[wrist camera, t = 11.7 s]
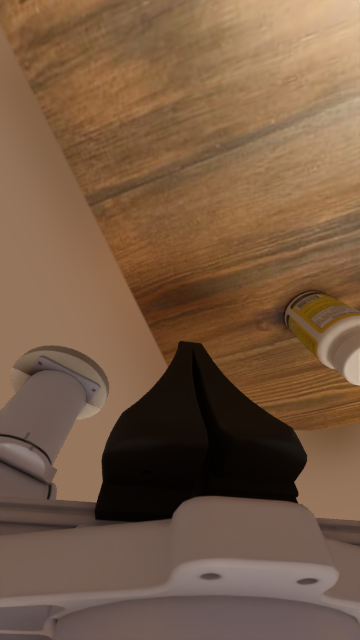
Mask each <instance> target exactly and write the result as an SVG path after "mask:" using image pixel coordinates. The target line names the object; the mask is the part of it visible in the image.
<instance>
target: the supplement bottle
mask: <svg viewBox="0 0 360 640" xmlns="http://www.w3.org/2000/svg"><path fill="white" fill-rule="evenodd" d="M285 323H286V326H287V327H288V328H289V329H290V331H291V332H292V333H293V334H294V335H295V336H296V337H297V338H298V339H299V340H300V341H301V342H302V343H303V344H304V345H305V346H306V347H307V348H308V349H309V350H310V351H311V352H312V353H313V354H314V355H315V356H316V357H317V358H318V359H319V360H320V361H321V362H322V363H323V364H324V365H326V366H327V367H329V368H332V369H336V370H337V371H338V372H339V373H340V374H341V375H342V376H343V377H344V378H345V379H346V380H348V381H349V382H350V383H352V384H355V385H359V386H360V312H359V311H357V310H355V309H354V308H352V307H350V306H348V305H346V304H344V303H342V302H340V301H338V300H336V299H335V298H333V297H331V296H329V295H327V294H325V293H322V292H317V291H313V292H307V293H304V294H301V295H299V296H298V297H296V298H295V299H294V300H293V301H292V302H291V303H290V304H289V306H288V307H287V309H286V312H285Z"/></svg>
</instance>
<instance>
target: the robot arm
mask: <svg viewBox="0 0 360 640" xmlns="http://www.w3.org/2000/svg"><path fill="white" fill-rule="evenodd" d="M41 362H42V363H41ZM99 388H100V385H99V384H98V383H96V382H94V381H92V380H90V379H88V378H86V377H85V376H83V375H81V374H79V373H77V372H75V371H73V370H71V369H69V368H67V367H65V366H63V365H61V364H59V363H57V362H55V361H54V360H52V359H50V358H48V357H46V356H40V357H39V358H38V359H37V361H36V363H35V364H34V366H33V368H32V370H31V371H30V373H29V375H28V376H27V378H26V380H25V382H24V383H23V385H22V387H21V389H20V390H19V391H18V392H17V393H16V394H15V395H14V396H13V397H12V398H11V400H10V401H9V402H8V403H7V404H6V405H5V406H4V407H3V408H2V409H1V410H0V640H360V521H354V520H339V519H325V518H315V516H314V514H313V513H311V511H310V510H309V509H308V508H307V507H305V506H303V505H301V504H298V502H297V500H296V497H298V490H297V488H296V486H295V483H294V481H295V480H296V479H297V477H298V476H299V474H300V473H301V472H302V470H303V469H304V467H305V465H306V462H307V454H306V452H305V451H304V449H303V446H302V444H301V442H300V441H299V439H298V437H297V435H296V433H295V432H294V430H293V428H292V427H290V426H288V425H287V424H285V423H283V422H282V421H280V420H279V419H277V418H275V417H274V416H272V415H271V414H269V413H268V412H266V411H265V410H263V409H262V408H261V407H259V406H258V405H256V404H255V403H254V402H252V401H251V400H250V399H249V398H248V397H246V396H245V395H244V394H243V393H242V392H241V391H239V390H238V389H237V388H236V387H235V386H234V385H233V384H232V383H231V382H230V381H229V380H228V379H227V378H226V377H225V375H224V374H223V373H222V372H221V371H220V369H219V368H218V367H217V366H216V364H215V363H214V362H213V360H212V359H211V357H210V356H209V354H208V353H207V351H206V350H205V348H204V347H203V345H202V344H201V343H193V342H184V341H180V342H179V343H178V349H177V352H176V354H175V356H174V358H173V360H172V362H171V364H170V365H169V367H168V369H167V370H166V372H165V373H164V374H163V376H162V377H161V378H160V379H159V381H158V382H157V383H156V384H155V385H154V387H153V388H152V389H151V390H150V391H149V392H147V394H145V395H144V396H143V397H142V398H141V399H140V400H139V401H138V402H136V403H135V404H133V405H132V406H131V407H130V408H128V409H127V410H125V411H124V412H123V413H122V414H121V416H120V417H119V419H118V421H117V422H116V424H115V426H114V428H113V429H112V431H111V433H110V436H109V438H108V440H107V443H106V446H105V449H104V452H103V455H102V476H103V483H102V486H101V490H100V493H99V496H98V500H97V503H92V502H78V501H64V500H56V492H57V491H56V490H57V489H56V485H55V484H54V483H52V480H53V478H54V476H55V473H56V472H57V469H55V468H54V467H52V465H53V463H54V461H55V459H56V457H57V455H58V453H59V451H60V449H61V447H62V446H63V444H64V442H65V440H66V438H67V436H68V434H69V432H70V430H71V428H72V426H73V424H74V422H75V420H76V418H77V416H78V415H79V414H80V412H81V411H82V410H83V409H84V407H85V406H86V405H87V404H88V402H89V401H90V400H91V399H92V397H93V396H94V395H95V394H96V393H97V391H98V390H99Z"/></svg>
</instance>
